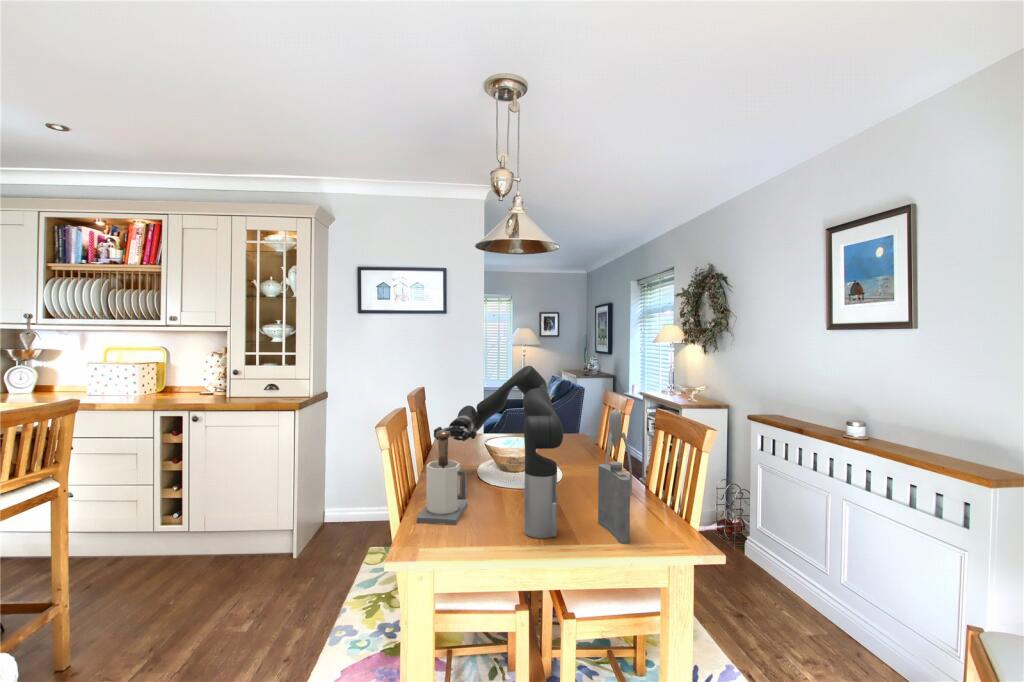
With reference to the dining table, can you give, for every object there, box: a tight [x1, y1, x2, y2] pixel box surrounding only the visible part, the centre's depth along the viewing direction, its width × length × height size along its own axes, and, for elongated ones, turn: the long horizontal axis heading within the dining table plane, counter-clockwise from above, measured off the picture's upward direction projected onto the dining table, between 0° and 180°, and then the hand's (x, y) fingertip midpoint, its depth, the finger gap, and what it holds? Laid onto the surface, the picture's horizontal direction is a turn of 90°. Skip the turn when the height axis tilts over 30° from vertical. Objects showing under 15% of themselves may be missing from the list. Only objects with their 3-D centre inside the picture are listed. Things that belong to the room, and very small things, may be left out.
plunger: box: [436, 431, 450, 469], centre depth 157 cm, size 8×8×23 cm
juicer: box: [605, 408, 633, 497], centre depth 175 cm, size 10×9×30 cm
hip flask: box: [597, 461, 631, 545], centre depth 144 cm, size 16×4×20 cm, turn 15°
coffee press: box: [416, 459, 468, 525], centre depth 157 cm, size 13×16×16 cm
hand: (450, 437), depth 166 cm, fingers open, 8 cm apart
